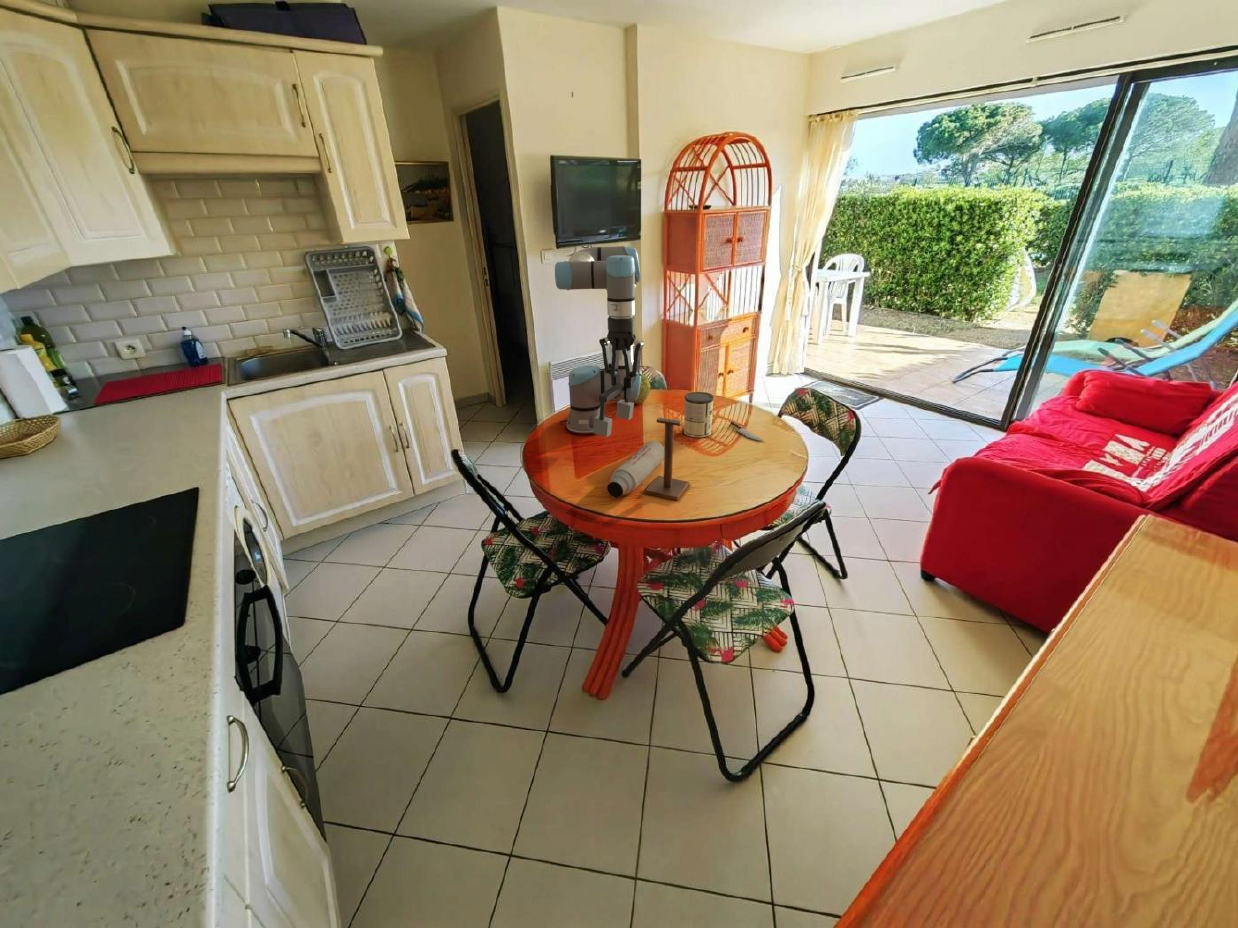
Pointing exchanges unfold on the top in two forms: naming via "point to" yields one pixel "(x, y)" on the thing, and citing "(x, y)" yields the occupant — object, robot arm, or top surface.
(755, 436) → the chef's knife
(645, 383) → the fruit
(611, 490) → the thermos bottle
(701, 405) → the coffee can
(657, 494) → the stand
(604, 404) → the headphones
